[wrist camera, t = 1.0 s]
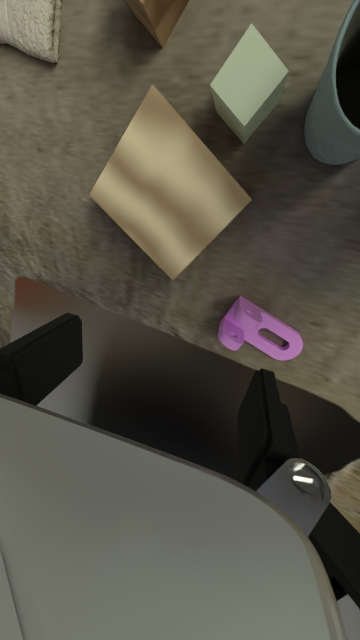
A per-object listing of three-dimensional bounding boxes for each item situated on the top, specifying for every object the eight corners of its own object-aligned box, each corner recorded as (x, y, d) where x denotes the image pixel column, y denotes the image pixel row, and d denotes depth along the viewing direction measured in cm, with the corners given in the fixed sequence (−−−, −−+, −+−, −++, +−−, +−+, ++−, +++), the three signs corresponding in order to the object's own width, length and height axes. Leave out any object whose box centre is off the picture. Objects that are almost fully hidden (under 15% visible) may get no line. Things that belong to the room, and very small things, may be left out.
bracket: (220, 321, 38) (216, 340, 32) (239, 295, 35) (239, 311, 29) (284, 361, 38) (293, 388, 32) (308, 338, 35) (323, 363, 29)
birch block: (166, 105, 28) (152, 84, 24) (250, 202, 30) (251, 199, 26) (108, 198, 34) (89, 195, 30) (181, 273, 36) (172, 280, 32)
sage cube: (249, 65, 25) (251, 23, 19) (278, 102, 25) (288, 71, 20) (216, 111, 27) (209, 84, 22) (243, 144, 28) (244, 126, 22)
